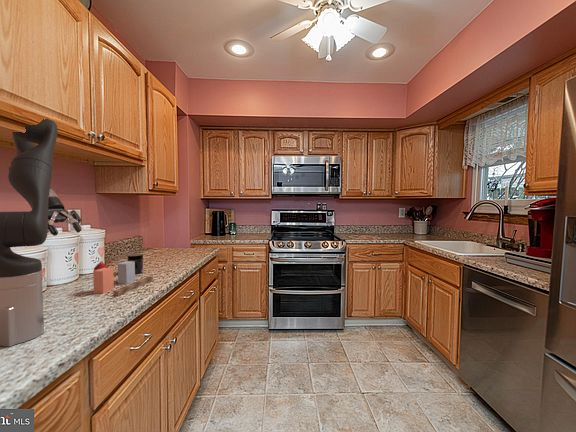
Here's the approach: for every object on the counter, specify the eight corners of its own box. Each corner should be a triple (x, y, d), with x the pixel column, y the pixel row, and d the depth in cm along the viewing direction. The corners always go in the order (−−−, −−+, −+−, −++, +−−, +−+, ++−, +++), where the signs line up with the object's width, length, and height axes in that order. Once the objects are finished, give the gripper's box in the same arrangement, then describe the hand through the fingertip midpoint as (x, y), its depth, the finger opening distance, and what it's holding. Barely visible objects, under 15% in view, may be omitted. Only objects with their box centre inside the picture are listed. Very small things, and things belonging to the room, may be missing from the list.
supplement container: (142, 277, 127) (142, 255, 126) (126, 278, 124) (125, 256, 124) (144, 273, 133) (144, 253, 133) (128, 274, 131) (128, 253, 130)
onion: (101, 280, 121) (100, 263, 121) (90, 279, 122) (90, 262, 122) (111, 276, 127) (111, 260, 126) (101, 276, 128) (101, 259, 128)
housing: (118, 299, 97) (118, 291, 97) (85, 297, 99) (85, 289, 99) (152, 283, 117) (152, 276, 117) (125, 282, 119) (125, 275, 118)
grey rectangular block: (126, 284, 111) (126, 264, 111) (118, 283, 112) (117, 263, 111) (135, 280, 116) (134, 261, 116) (126, 280, 117) (126, 261, 116)
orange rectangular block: (103, 293, 99) (102, 271, 99) (93, 293, 100) (93, 270, 100) (113, 289, 104) (113, 268, 104) (104, 288, 105) (104, 267, 104)
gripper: (30, 195, 100) (52, 229, 98) (71, 195, 113) (91, 225, 111) (21, 208, 102) (43, 241, 100) (62, 206, 115) (82, 235, 113)
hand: (68, 232), depth 106 cm, fingers open, 8 cm apart
